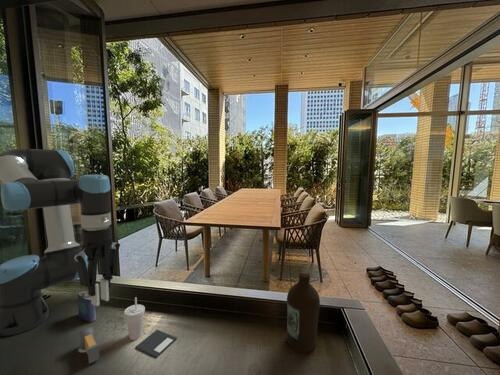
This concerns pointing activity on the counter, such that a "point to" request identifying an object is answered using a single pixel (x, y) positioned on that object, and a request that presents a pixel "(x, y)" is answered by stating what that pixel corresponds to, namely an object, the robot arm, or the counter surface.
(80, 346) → the base
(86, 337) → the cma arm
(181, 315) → the counter surface
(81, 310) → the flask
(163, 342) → the pad
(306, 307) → the olive oil
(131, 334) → the smoothie
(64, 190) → the robot arm
